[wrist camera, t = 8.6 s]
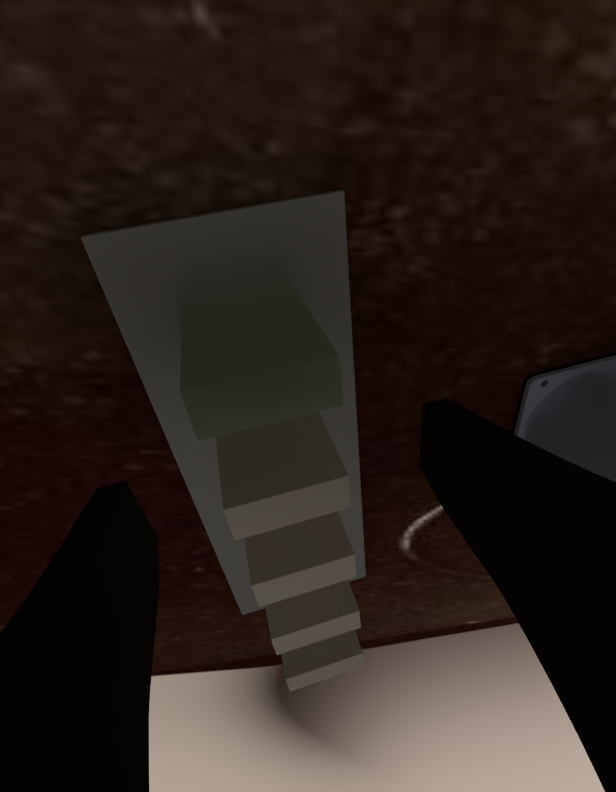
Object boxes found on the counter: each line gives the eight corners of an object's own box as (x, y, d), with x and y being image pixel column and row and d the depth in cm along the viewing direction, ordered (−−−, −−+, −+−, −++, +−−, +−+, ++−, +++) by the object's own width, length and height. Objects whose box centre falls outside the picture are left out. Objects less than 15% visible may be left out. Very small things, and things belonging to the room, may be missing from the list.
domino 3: (234, 470, 23) (251, 586, 17) (313, 449, 23) (354, 554, 18) (241, 491, 24) (259, 607, 18) (316, 471, 24) (356, 576, 19)
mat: (340, 189, 16) (344, 190, 16) (363, 571, 33) (365, 576, 32) (82, 234, 15) (80, 237, 15) (241, 610, 31) (242, 615, 31)
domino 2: (211, 399, 20) (223, 510, 14) (303, 377, 20) (348, 475, 15) (220, 427, 21) (234, 541, 15) (306, 405, 21) (351, 507, 16)
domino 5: (265, 569, 28) (285, 679, 23) (328, 550, 29) (362, 653, 24) (270, 582, 30) (290, 691, 24) (330, 564, 30) (363, 666, 25)
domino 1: (181, 300, 17) (180, 392, 11) (289, 279, 17) (339, 356, 12) (192, 339, 18) (197, 440, 12) (294, 318, 18) (342, 405, 13)
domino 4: (251, 525, 26) (271, 639, 20) (321, 505, 26) (359, 611, 21) (257, 542, 27) (276, 655, 21) (324, 523, 27) (360, 627, 22)
